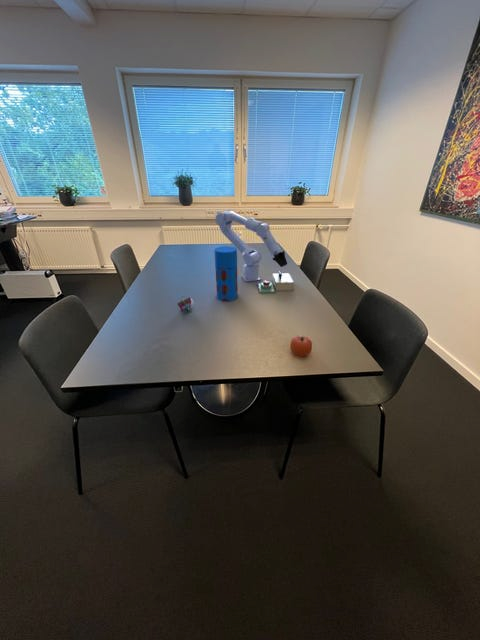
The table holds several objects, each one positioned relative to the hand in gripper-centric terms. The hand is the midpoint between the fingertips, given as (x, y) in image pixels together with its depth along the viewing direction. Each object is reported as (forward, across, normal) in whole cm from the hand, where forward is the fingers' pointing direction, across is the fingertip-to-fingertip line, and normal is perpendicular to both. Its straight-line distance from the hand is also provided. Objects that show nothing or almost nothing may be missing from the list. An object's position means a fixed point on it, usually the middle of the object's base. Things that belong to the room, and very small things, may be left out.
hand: (284, 265), depth 141 cm
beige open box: (+9, +5, +6) cm, 12 cm away
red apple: (+29, -51, +22) cm, 62 cm away
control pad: (+5, +1, +15) cm, 16 cm away
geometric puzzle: (-11, -22, +53) cm, 58 cm away
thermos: (-3, -7, +35) cm, 36 cm away
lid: (+6, +3, +4) cm, 8 cm away
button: (+3, 0, +14) cm, 14 cm away
